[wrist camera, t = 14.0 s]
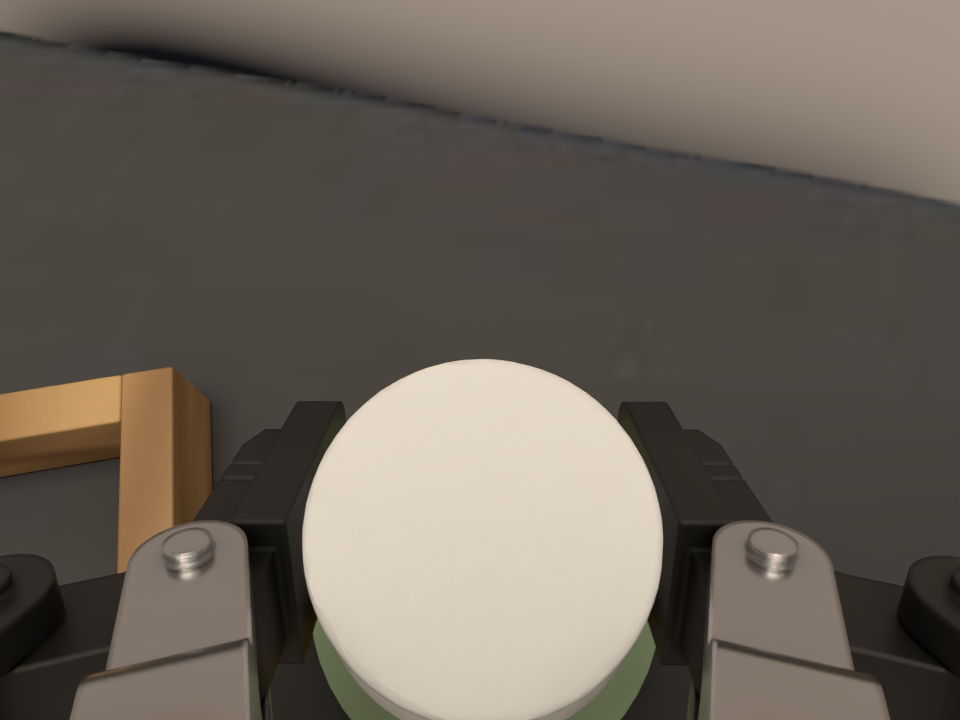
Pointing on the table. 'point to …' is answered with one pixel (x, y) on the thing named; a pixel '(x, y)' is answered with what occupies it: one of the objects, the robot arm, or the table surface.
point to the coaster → (596, 716)
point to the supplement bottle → (482, 544)
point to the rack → (119, 443)
